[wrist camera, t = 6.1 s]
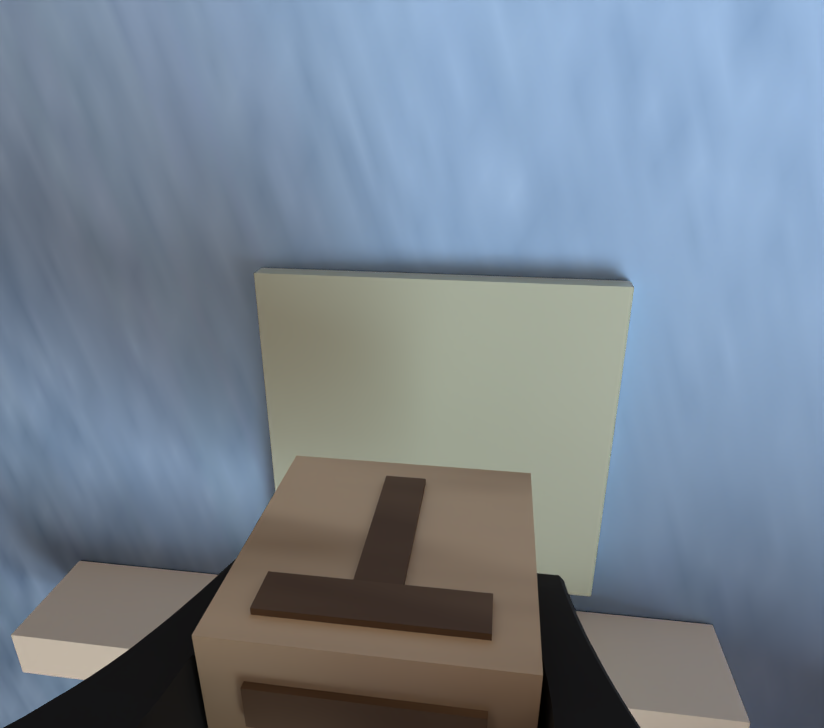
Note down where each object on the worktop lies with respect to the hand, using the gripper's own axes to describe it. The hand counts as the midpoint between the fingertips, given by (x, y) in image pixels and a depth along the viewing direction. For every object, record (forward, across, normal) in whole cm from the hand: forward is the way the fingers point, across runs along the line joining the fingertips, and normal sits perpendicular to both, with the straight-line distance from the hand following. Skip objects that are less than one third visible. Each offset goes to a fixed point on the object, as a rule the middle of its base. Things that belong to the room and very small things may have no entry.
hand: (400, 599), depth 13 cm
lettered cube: (+2, 0, 0) cm, 2 cm away
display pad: (+7, 0, 0) cm, 7 cm away
